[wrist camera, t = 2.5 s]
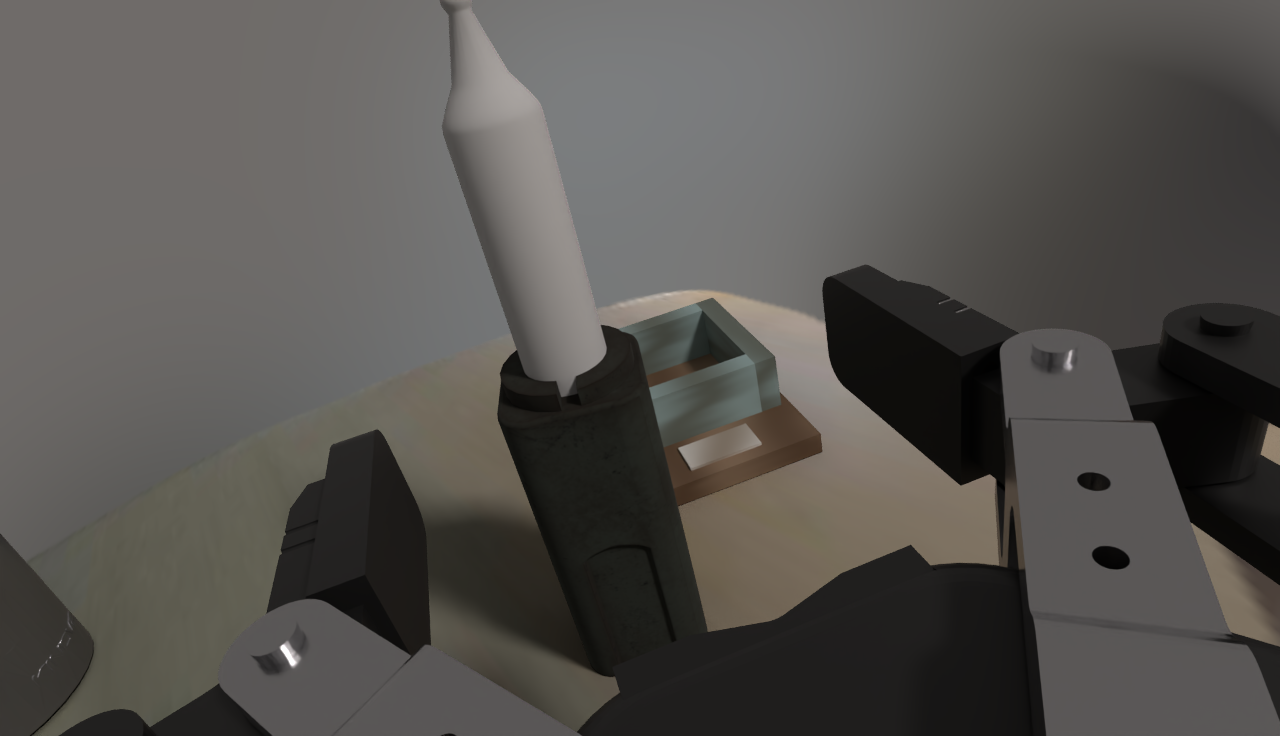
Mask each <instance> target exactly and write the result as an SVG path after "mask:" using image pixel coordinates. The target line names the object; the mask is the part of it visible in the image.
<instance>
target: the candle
mask: <svg viewBox="0 0 1280 736" xmlns="http://www.w3.org/2000/svg"><path fill="white" fill-rule="evenodd" d="M440 3H441V6H442V7H443V9H444V10H445V11H446V12H447V14H448V15H449V34H450V57H451V80H452V86H451V90H450V95H449V98H448V102H447V106H446V109H445V115H444V120H443V125H442V128H443V135H444V138H445V141H446V144H447V147H448V150H449V153H450V155H451V158H452V161H453V164H454V167H455V170H456V173H457V176H458V179H459V182H460V185H461V188H462V191H463V193H464V197H465V199H466V202H467V205H468V208H469V211H470V214H471V217H472V220H473V223H474V226H475V229H476V232H477V235H478V237H479V240H480V243H481V246H482V249H483V252H484V255H485V258H486V261H487V263H488V267H489V270H490V273H491V275H492V278H493V281H494V284H495V287H496V290H497V293H498V296H499V299H500V302H501V305H502V307H503V311H504V313H505V316H506V319H507V322H508V325H509V328H510V331H511V334H512V337H513V340H514V343H515V346H516V349H517V350H516V351H515V352H514V353H513V354H511V355H510V356H509V358H508V359H507V360H506V362H505V363H504V364H503V367H502V369H501V372H500V376H501V387H500V396H499V405H498V413H497V414H498V421H499V424H500V426H501V429H502V432H503V434H504V437H505V440H506V442H507V445H508V448H509V450H510V453H511V456H512V458H513V461H514V463H515V466H516V469H517V471H518V474H519V477H520V479H521V482H522V485H523V487H524V490H525V492H526V495H527V498H528V500H529V503H530V506H531V508H532V511H533V514H534V516H535V519H536V521H537V524H538V527H539V529H540V532H541V535H542V537H543V540H544V543H545V545H546V548H547V550H548V553H549V556H550V558H551V561H552V564H553V566H554V569H555V572H556V574H557V577H558V580H559V582H560V585H561V587H562V590H563V593H564V595H565V598H566V601H567V603H568V606H569V609H570V611H571V614H572V616H573V619H574V622H575V624H576V627H577V630H578V632H579V635H580V638H581V640H582V643H583V645H584V648H585V651H586V653H587V656H588V659H589V661H590V664H591V665H592V667H593V669H594V670H596V671H597V672H598V673H600V674H602V675H605V676H615V674H614V671H613V668H612V667H613V666H616V665H618V664H621V663H623V662H626V661H628V660H631V659H633V658H635V657H638V656H640V655H643V654H645V653H648V652H650V651H653V650H655V649H657V648H660V647H662V646H665V645H667V644H670V643H672V642H675V641H677V640H680V639H682V638H684V637H687V636H689V635H695V634H701V633H706V632H708V631H707V626H706V621H705V617H704V613H703V609H702V605H701V600H700V596H699V592H698V588H697V583H696V579H695V575H694V571H693V567H692V563H691V559H690V554H689V550H688V546H687V542H686V538H685V534H684V530H683V525H682V521H681V517H680V513H679V509H678V505H677V501H676V497H675V492H674V488H673V484H672V480H671V476H670V472H669V468H668V463H667V459H666V455H665V451H664V447H663V443H662V439H661V434H660V430H659V426H658V422H657V418H656V414H655V410H654V406H653V401H652V397H651V393H650V389H649V385H648V381H647V377H646V372H645V368H644V364H643V360H642V356H641V352H640V348H639V343H638V341H637V339H636V338H635V337H634V336H633V335H632V334H629V333H626V332H622V331H620V330H619V329H616V328H613V327H610V326H605V325H600V321H599V317H598V314H597V310H596V306H595V302H594V299H593V295H592V291H591V287H590V284H589V281H588V276H587V273H586V269H585V265H584V262H583V258H582V254H581V250H580V247H579V243H578V239H577V235H576V232H575V228H574V224H573V221H572V217H571V214H570V209H569V206H568V202H567V198H566V194H565V191H564V187H563V183H562V180H561V176H560V172H559V168H558V165H557V161H556V157H555V153H554V150H553V146H552V142H551V139H550V135H549V131H548V127H547V124H546V120H545V116H544V112H543V109H542V106H541V104H540V102H539V101H538V100H537V99H536V98H535V97H534V96H533V95H532V93H530V91H529V90H528V89H527V88H526V87H525V86H523V85H522V84H521V83H520V82H519V81H518V80H517V79H516V78H515V77H514V76H513V75H512V74H511V73H510V72H509V71H508V70H507V69H506V67H505V65H504V63H503V62H502V60H501V59H500V57H499V55H498V53H497V52H496V50H495V48H494V47H493V45H492V43H491V42H490V40H489V38H488V37H487V35H486V33H485V32H484V30H483V28H482V27H481V25H480V24H479V22H478V20H477V18H476V17H475V15H474V13H473V12H472V10H471V6H472V0H440Z"/></svg>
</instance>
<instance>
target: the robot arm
mask: <svg viewBox="0 0 1280 736" xmlns="http://www.w3.org/2000/svg"><path fill="white" fill-rule="evenodd" d="M822 291H823V303H824V312H825V322H826V332H827V342H828V352H829V358H830V362H831V365H832V368H833V370H834V373H835V375H836V376H837V378H838V380H839V381H840V382H841V384H842V385H843V386H844V387H845V388H846V389H848V390H849V391H850V392H851V393H852V394H854V395H855V396H856V397H857V398H858V399H859V400H861V401H862V402H863V403H864V404H865V405H866V406H868V407H869V408H870V409H871V410H872V411H874V412H875V413H876V414H877V415H878V416H879V417H881V418H882V419H883V420H884V421H885V422H886V423H888V424H889V425H890V426H891V427H892V428H894V429H895V430H896V431H897V432H898V433H899V434H901V435H902V436H903V437H904V438H905V439H906V440H908V441H909V442H910V443H911V444H912V445H914V446H915V447H916V448H917V449H918V450H919V451H921V452H922V453H923V454H924V455H925V456H926V457H928V458H929V459H930V460H931V461H932V462H934V463H935V464H936V465H937V466H938V467H939V468H941V469H942V470H943V471H944V472H945V473H946V474H948V475H949V476H950V477H951V478H952V479H954V480H955V481H956V482H957V483H958V484H959V485H964V484H966V483H969V482H971V481H974V480H976V479H979V478H981V477H984V476H986V475H989V474H990V475H992V476H993V477H994V478H995V479H996V482H995V506H996V522H997V539H998V556H999V566H997V565H988V564H979V563H950V564H938V565H931V566H930V565H929V564H928V562H927V561H926V560H925V559H924V558H923V557H922V556H921V555H920V554H919V553H918V552H917V551H916V550H915V549H914V548H913V547H912V546H911V545H909V546H907V547H905V548H902V549H900V550H897V551H895V552H892V553H890V554H887V555H885V556H883V557H880V558H878V559H875V560H873V561H870V562H868V563H865V564H863V565H861V566H858V567H856V568H853V569H851V570H848V571H846V572H843V573H841V574H840V575H838V576H837V577H836V578H834V579H833V580H831V581H830V582H829V583H827V584H826V585H824V586H823V587H822V588H820V589H819V590H818V591H816V592H815V593H813V594H812V595H811V596H809V597H808V598H806V599H805V600H804V601H802V602H801V603H800V604H798V605H797V606H795V607H794V608H793V609H791V610H790V611H788V612H787V613H786V614H784V615H783V616H781V617H780V618H778V619H775V620H772V621H768V622H763V623H758V624H752V625H746V626H740V627H735V628H729V629H723V630H718V631H712V632H706V633H701V634H695V635H689V636H687V637H684V638H682V639H680V640H677V641H675V642H672V643H670V644H667V645H665V646H662V647H660V648H657V649H655V650H653V651H650V652H648V653H645V654H643V655H640V656H638V657H635V658H633V659H631V660H628V661H626V662H623V663H621V664H618V665H616V666H613V667H612V668H613V671H614V674H615V677H616V680H617V684H618V687H619V690H620V693H619V694H617V695H616V696H615V697H613V698H612V699H611V700H609V701H608V702H607V703H605V704H604V705H603V706H602V707H601V708H600V709H599V710H598V711H597V712H595V713H594V714H593V715H592V716H591V717H590V718H589V719H588V720H587V721H586V722H585V724H584V725H583V726H582V727H581V728H580V729H579V730H578V731H577V732H575V731H574V730H572V729H570V728H569V727H567V726H565V725H564V724H562V723H560V722H559V721H557V720H555V719H554V718H552V717H550V716H549V715H547V714H545V713H544V712H542V711H540V710H539V709H537V708H535V707H534V706H532V705H530V704H529V703H527V702H525V701H524V700H522V699H520V698H519V697H517V696H515V695H514V694H512V693H510V692H509V691H507V690H505V689H504V688H502V687H500V686H499V685H497V684H495V683H494V682H492V681H490V680H489V679H487V678H485V677H484V676H482V675H480V674H479V673H477V672H475V671H474V670H472V669H470V668H469V667H467V666H465V665H464V664H462V663H460V662H459V661H457V660H456V659H454V658H452V657H451V656H449V655H447V654H446V653H444V652H442V651H441V650H439V649H437V648H435V647H433V646H431V637H430V614H429V591H428V568H427V545H426V533H425V527H424V523H423V520H422V516H421V513H420V510H419V508H418V505H417V503H416V501H415V498H414V496H413V494H412V492H411V490H410V488H409V486H408V484H407V482H406V480H405V478H404V476H403V474H402V472H401V470H400V468H399V466H398V464H397V462H396V459H395V457H394V455H393V453H392V451H391V449H390V447H389V445H388V443H387V441H386V439H385V438H384V436H383V434H382V433H381V432H380V431H379V430H374V431H371V432H368V433H365V434H362V435H359V436H356V437H353V438H350V439H347V440H344V441H341V442H339V443H336V444H333V445H332V446H331V448H330V452H329V458H328V464H327V470H326V476H325V479H323V480H320V481H317V482H314V483H311V484H308V485H307V487H306V488H305V489H304V491H303V492H302V493H301V495H300V496H299V497H298V499H297V500H296V502H295V503H294V504H293V506H292V507H291V508H290V512H289V516H288V521H287V525H286V529H285V532H286V535H285V536H284V538H283V543H282V547H281V552H282V554H281V555H280V556H279V560H278V565H277V569H276V573H275V578H274V582H273V587H272V591H271V595H270V600H269V604H268V609H267V613H266V614H265V615H264V616H262V617H261V618H259V619H258V620H257V621H255V622H254V623H252V624H251V625H250V626H249V627H248V628H247V629H245V630H244V631H243V632H242V633H241V634H240V635H239V636H238V637H237V639H236V640H235V641H234V642H233V643H232V645H231V646H230V647H229V649H228V650H227V652H226V654H225V655H224V657H223V659H222V662H221V664H220V668H219V672H218V681H219V684H218V685H216V686H215V687H214V688H212V689H211V690H209V691H208V692H206V693H205V694H203V695H202V696H200V697H198V698H197V699H195V700H193V701H192V702H190V703H189V704H187V705H185V706H184V707H182V708H180V709H179V710H177V711H176V712H174V713H172V714H171V715H169V716H168V717H166V718H164V719H163V720H161V721H159V722H158V723H156V724H155V725H153V726H151V727H149V726H148V725H147V724H146V723H145V722H144V721H143V719H142V718H141V717H140V716H139V715H138V714H137V713H135V712H133V711H131V710H125V709H119V710H111V711H107V712H103V713H100V714H97V715H95V716H92V717H90V718H88V719H86V720H84V721H82V722H80V723H78V724H76V725H75V726H73V727H71V728H70V729H68V730H67V731H65V732H64V733H62V734H61V735H59V736H1280V647H1279V646H1275V645H1272V644H1269V643H1265V642H1262V641H1258V640H1255V639H1252V638H1248V637H1245V636H1242V635H1238V634H1235V633H1232V632H1230V630H1229V628H1228V626H1227V623H1226V621H1225V618H1224V615H1223V613H1222V610H1221V607H1220V604H1219V601H1218V599H1217V596H1216V593H1215V590H1214V587H1213V585H1212V582H1211V579H1210V576H1209V573H1208V571H1207V568H1206V565H1205V562H1204V559H1203V557H1202V554H1201V551H1200V548H1199V545H1198V543H1197V540H1196V537H1195V534H1194V531H1193V529H1192V526H1191V523H1193V524H1194V525H1195V526H1197V527H1198V528H1200V529H1201V530H1202V531H1204V532H1205V533H1207V534H1208V535H1209V536H1211V537H1212V538H1214V539H1215V540H1217V541H1218V542H1219V543H1221V544H1222V545H1224V546H1225V547H1226V548H1228V549H1229V550H1231V551H1232V552H1233V553H1235V554H1236V555H1238V556H1239V557H1240V558H1242V559H1243V560H1245V561H1246V562H1248V563H1249V564H1250V565H1252V566H1253V567H1255V568H1256V569H1258V570H1259V571H1260V572H1262V573H1263V574H1264V575H1266V576H1267V577H1269V578H1270V579H1272V580H1273V581H1274V582H1276V583H1277V584H1279V585H1280V465H1278V464H1276V463H1274V462H1273V461H1271V460H1269V459H1267V458H1266V457H1264V456H1262V455H1260V454H1261V450H1262V447H1263V443H1264V439H1265V435H1266V431H1267V428H1268V424H1269V423H1271V424H1273V425H1275V426H1277V427H1279V428H1280V316H1277V315H1275V314H1272V313H1270V312H1267V311H1264V310H1261V309H1257V308H1253V307H1248V306H1243V305H1236V304H1223V303H1209V304H1208V303H1207V304H1197V305H1191V306H1186V307H1183V308H1179V309H1177V310H1174V311H1173V312H1171V313H1169V314H1168V315H1167V316H1166V317H1165V319H1164V321H1163V326H1162V332H1161V339H1160V343H1159V344H1153V345H1146V346H1139V347H1134V348H1126V349H1120V350H1113V351H1111V350H1110V348H1109V347H1108V346H1107V345H1106V344H1105V343H1104V342H1103V341H1101V340H1099V339H1098V338H1096V337H1094V336H1091V335H1088V334H1086V333H1082V332H1078V331H1073V330H1066V329H1039V330H1032V331H1027V332H1023V333H1018V332H1016V331H1014V330H1012V329H1010V328H1008V327H1006V326H1004V325H1002V324H1000V323H999V322H997V321H995V320H993V319H991V318H989V317H987V316H985V315H983V314H981V313H979V312H977V311H975V310H973V309H972V308H971V309H968V308H967V306H966V305H964V304H962V303H960V302H958V301H956V300H951V299H950V297H949V296H947V295H945V294H942V293H941V292H939V291H937V290H935V289H933V288H931V287H930V286H925V285H920V284H915V283H911V282H906V281H897V280H895V279H893V278H891V277H889V276H888V275H886V274H884V273H882V272H880V271H878V270H877V269H875V268H873V267H871V266H869V265H863V266H860V267H857V268H854V269H851V270H848V271H845V272H842V273H839V274H837V275H833V276H830V277H827V278H826V279H825V281H824V283H823V290H822ZM1190 522H1191V523H1190ZM92 654H93V640H92V638H91V636H90V634H89V632H88V631H87V630H86V629H85V628H84V626H83V625H82V624H81V623H80V622H79V621H78V620H77V619H76V618H75V616H74V615H73V614H72V613H71V612H70V611H69V610H68V609H67V608H66V606H65V605H64V604H63V603H62V602H61V601H60V600H59V599H58V597H57V596H56V595H55V594H54V593H53V592H52V591H51V590H50V589H49V587H48V586H47V585H46V584H45V583H44V581H43V580H42V579H41V578H40V577H39V576H38V575H37V574H36V572H35V571H34V570H33V569H32V568H31V567H30V566H29V565H28V564H27V563H26V561H25V560H24V559H23V558H22V557H21V556H20V555H19V554H18V553H17V551H16V550H15V549H14V548H13V547H12V546H11V545H10V544H9V543H8V541H7V540H6V539H5V538H4V537H3V536H2V535H1V534H0V736H30V735H31V734H32V733H33V732H34V731H35V730H37V729H38V728H39V727H40V726H41V725H42V724H43V723H45V722H46V721H47V720H48V719H49V718H50V717H51V716H52V714H53V713H54V712H55V711H56V710H57V709H58V708H59V707H60V706H61V705H62V704H63V703H64V702H65V701H66V699H67V698H68V697H69V695H70V694H71V693H72V692H73V690H74V689H75V688H76V686H77V685H78V684H79V682H80V680H81V679H82V677H83V675H84V673H85V672H86V670H87V668H88V666H89V663H90V660H91V657H92Z"/></svg>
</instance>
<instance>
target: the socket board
mask: <svg viewBox="0 0 1280 736" xmlns="http://www.w3.org/2000/svg"><path fill="white" fill-rule="evenodd" d="M619 330H620V331H622V332H626V333H629V334H632V335H633V336H634V337H635V338H636V339H637V341H638V343H639V348H640V352H641V356H642V360H643V364H644V368H645V372H646V377H647V381H648V385H649V389H650V393H651V397H652V401H653V406H654V410H655V414H656V418H657V422H658V426H659V430H660V434H661V439H662V443H663V447H664V451H665V455H666V459H667V463H668V468H669V472H670V476H671V480H672V484H673V488H674V492H675V497H676V501H677V505H678V506H679V505H682V504H685V503H687V502H690V501H693V500H695V499H698V498H701V497H703V496H706V495H709V494H711V493H714V492H717V491H719V490H722V489H725V488H727V487H730V486H732V485H735V484H738V483H740V482H743V481H746V480H748V479H751V478H754V477H756V476H759V475H762V474H764V473H767V472H770V471H772V470H775V469H778V468H780V467H783V466H785V465H788V464H791V463H793V462H796V461H799V460H801V459H804V458H807V457H809V456H812V455H815V454H817V453H820V452H822V443H821V434H820V433H819V432H818V431H817V430H816V428H815V427H814V426H813V425H812V424H811V423H810V422H809V421H808V420H807V419H806V418H805V417H804V416H803V415H802V414H801V413H800V412H799V411H798V410H797V409H796V408H795V407H794V406H793V405H792V404H791V403H790V402H789V401H788V400H787V399H786V398H785V397H784V396H783V395H782V394H781V393H780V391H779V383H778V376H777V368H776V361H775V356H774V355H773V354H772V353H771V352H770V351H769V350H768V349H766V348H765V347H764V346H763V345H762V344H761V343H760V342H759V341H758V340H757V339H756V338H755V337H754V336H753V335H752V334H751V333H750V332H748V331H747V330H746V329H745V328H744V327H743V326H742V325H741V324H740V323H739V322H738V321H737V320H736V319H735V318H734V317H733V316H732V315H730V314H729V313H728V312H727V311H726V310H725V309H724V308H723V307H722V306H721V305H720V304H719V303H718V302H717V301H716V300H715V299H714V298H710V299H707V300H704V301H701V302H698V303H695V304H692V305H689V306H686V307H683V308H680V309H677V310H674V311H671V312H668V313H665V314H662V315H659V316H656V317H653V318H650V319H647V320H644V321H641V322H638V323H635V324H632V325H629V326H626V327H623V328H620V329H619Z"/></svg>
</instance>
